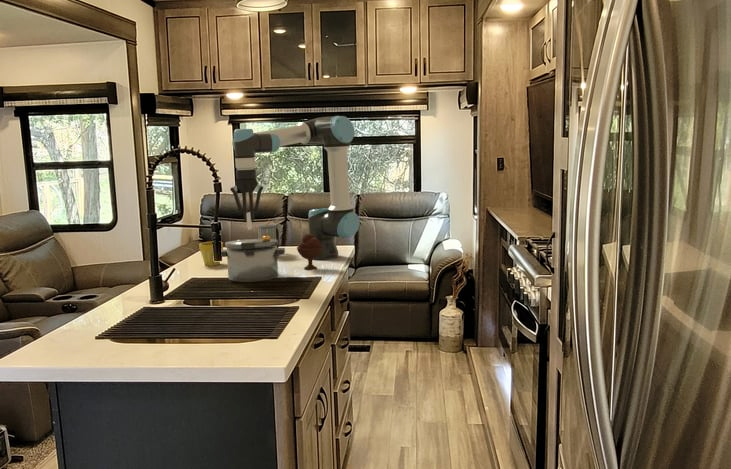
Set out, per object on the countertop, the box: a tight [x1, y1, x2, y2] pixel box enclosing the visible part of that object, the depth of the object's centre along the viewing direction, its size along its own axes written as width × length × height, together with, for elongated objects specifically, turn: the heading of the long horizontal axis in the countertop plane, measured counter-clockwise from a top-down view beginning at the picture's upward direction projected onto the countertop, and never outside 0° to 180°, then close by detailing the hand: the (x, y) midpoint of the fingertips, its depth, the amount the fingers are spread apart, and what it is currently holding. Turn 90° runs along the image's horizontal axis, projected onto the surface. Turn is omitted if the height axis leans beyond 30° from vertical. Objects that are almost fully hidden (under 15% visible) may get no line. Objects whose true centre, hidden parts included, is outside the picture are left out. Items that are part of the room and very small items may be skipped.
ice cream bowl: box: [296, 233, 323, 271], centre depth 262 cm, size 11×11×15 cm
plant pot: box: [198, 241, 224, 267], centre depth 278 cm, size 10×10×10 cm
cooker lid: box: [224, 236, 278, 249], centre depth 248 cm, size 21×24×4 cm
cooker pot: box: [221, 246, 286, 283], centre depth 250 cm, size 26×20×12 cm
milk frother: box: [257, 224, 280, 257], centre depth 298 cm, size 14×16×15 cm
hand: (249, 228), depth 242 cm, fingers closed
